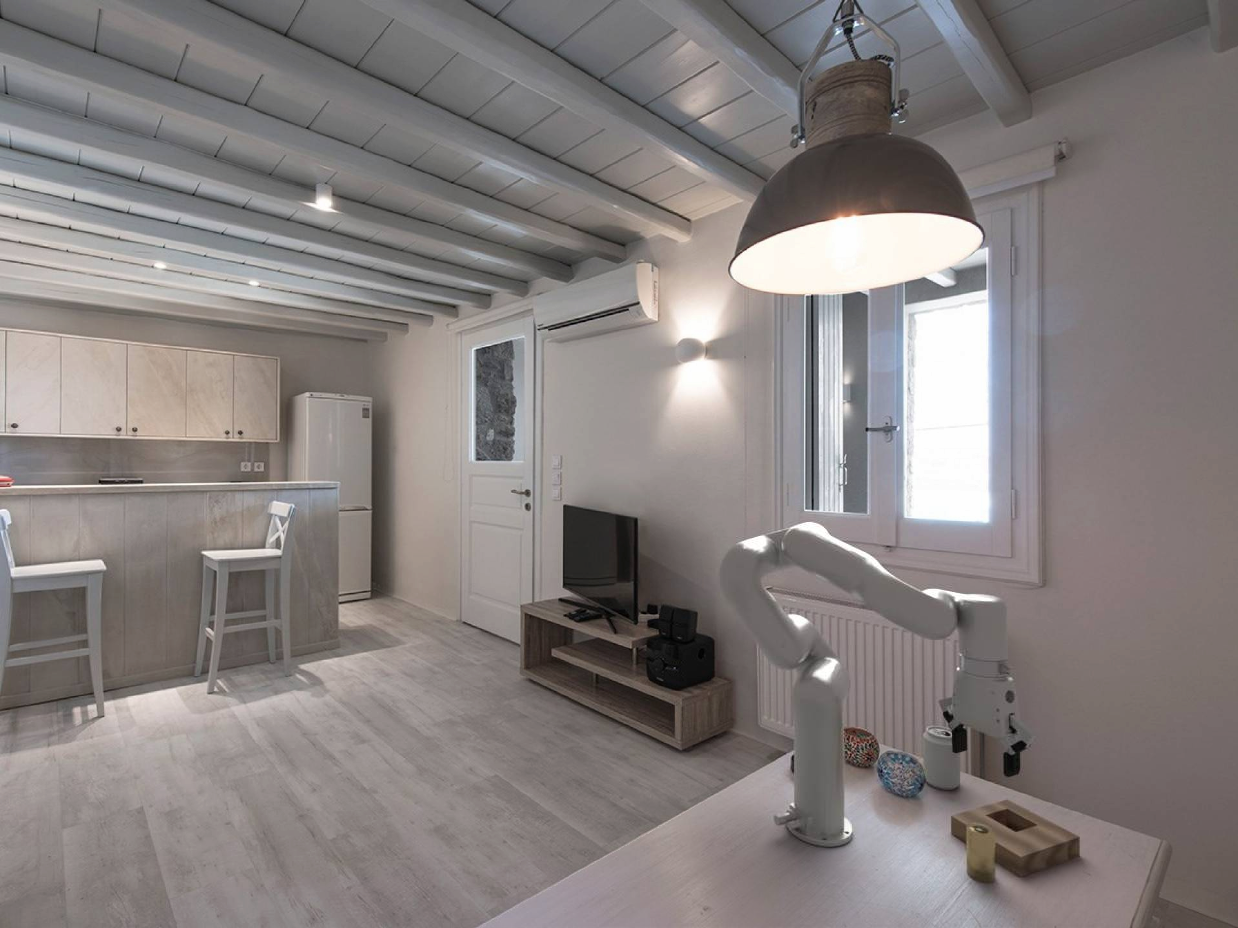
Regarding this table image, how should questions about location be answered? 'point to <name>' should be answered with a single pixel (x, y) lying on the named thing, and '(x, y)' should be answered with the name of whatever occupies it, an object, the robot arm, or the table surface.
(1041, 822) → the block
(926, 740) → the can
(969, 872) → the bushing
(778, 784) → the table surface
